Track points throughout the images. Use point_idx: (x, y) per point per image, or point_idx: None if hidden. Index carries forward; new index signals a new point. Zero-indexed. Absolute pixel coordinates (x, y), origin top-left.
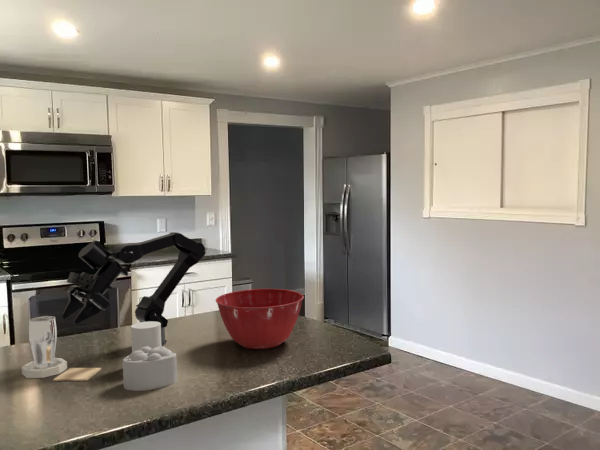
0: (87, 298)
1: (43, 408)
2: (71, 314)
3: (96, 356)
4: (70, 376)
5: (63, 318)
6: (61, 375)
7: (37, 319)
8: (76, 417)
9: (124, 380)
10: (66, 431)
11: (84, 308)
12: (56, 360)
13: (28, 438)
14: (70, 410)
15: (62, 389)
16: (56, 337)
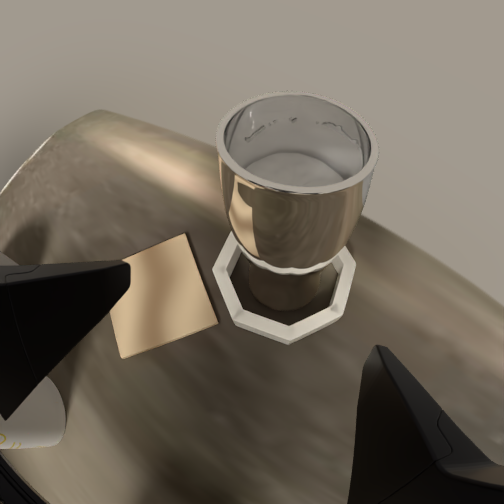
0: (14, 477)
1: (107, 155)
2: (356, 435)
3: (248, 464)
4: (155, 266)
5: (366, 360)
6: (186, 261)
7: (369, 154)
8: (53, 167)
9: (12, 260)
10: (52, 147)
11: (1, 268)
12: (297, 323)
13: (82, 121)
14: (67, 172)
15: (125, 212)
16: (242, 248)
